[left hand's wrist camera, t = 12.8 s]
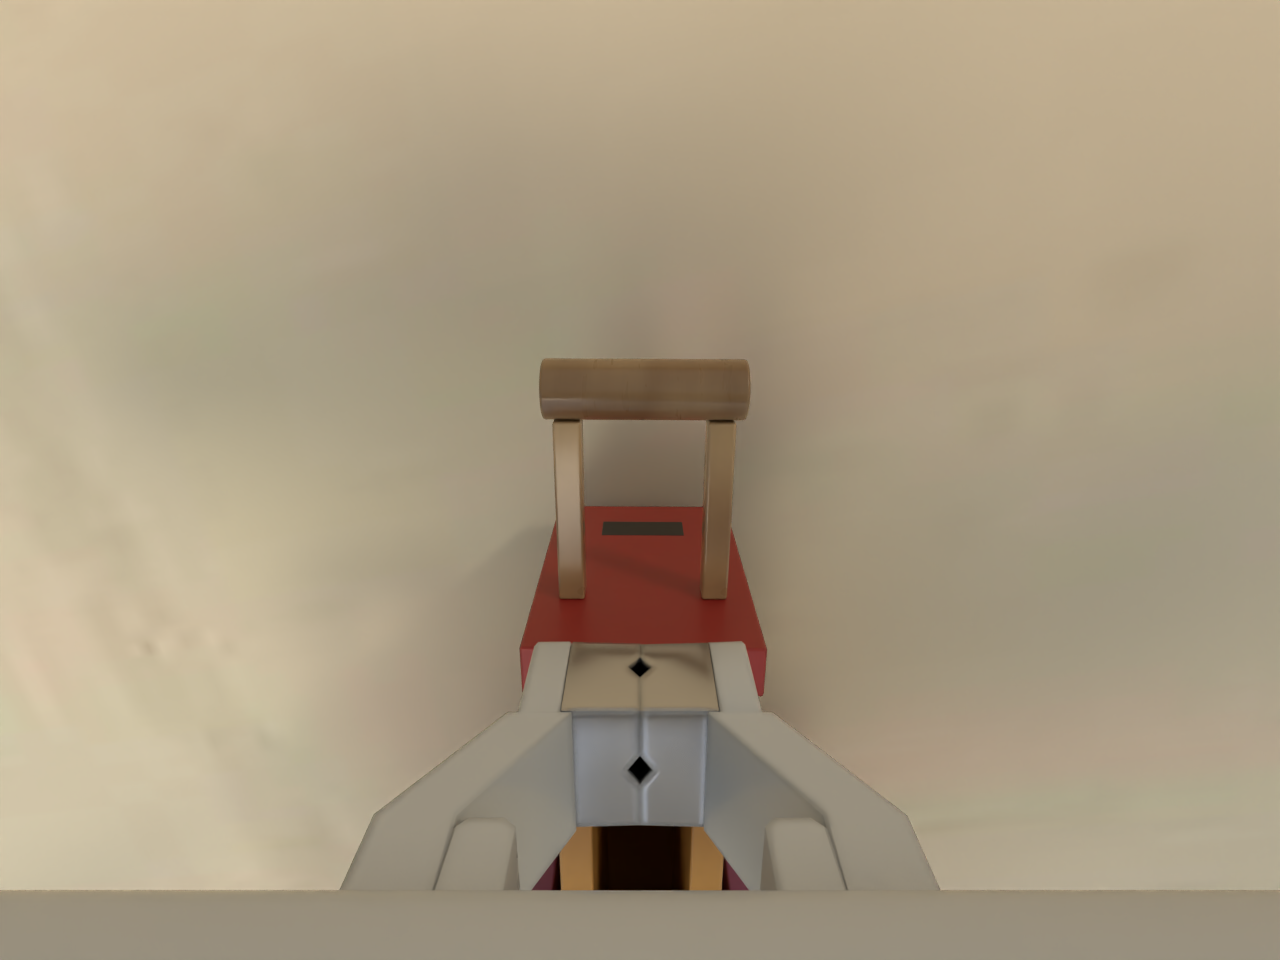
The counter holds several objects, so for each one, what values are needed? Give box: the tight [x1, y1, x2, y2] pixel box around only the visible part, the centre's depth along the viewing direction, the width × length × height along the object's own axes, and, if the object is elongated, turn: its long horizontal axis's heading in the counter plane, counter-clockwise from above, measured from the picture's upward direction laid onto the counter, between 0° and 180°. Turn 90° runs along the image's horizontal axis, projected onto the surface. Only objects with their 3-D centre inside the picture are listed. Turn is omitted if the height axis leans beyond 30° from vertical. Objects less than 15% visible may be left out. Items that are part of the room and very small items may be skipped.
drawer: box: [520, 358, 767, 890], centre depth 20 cm, size 24×5×8 cm, turn 0°
